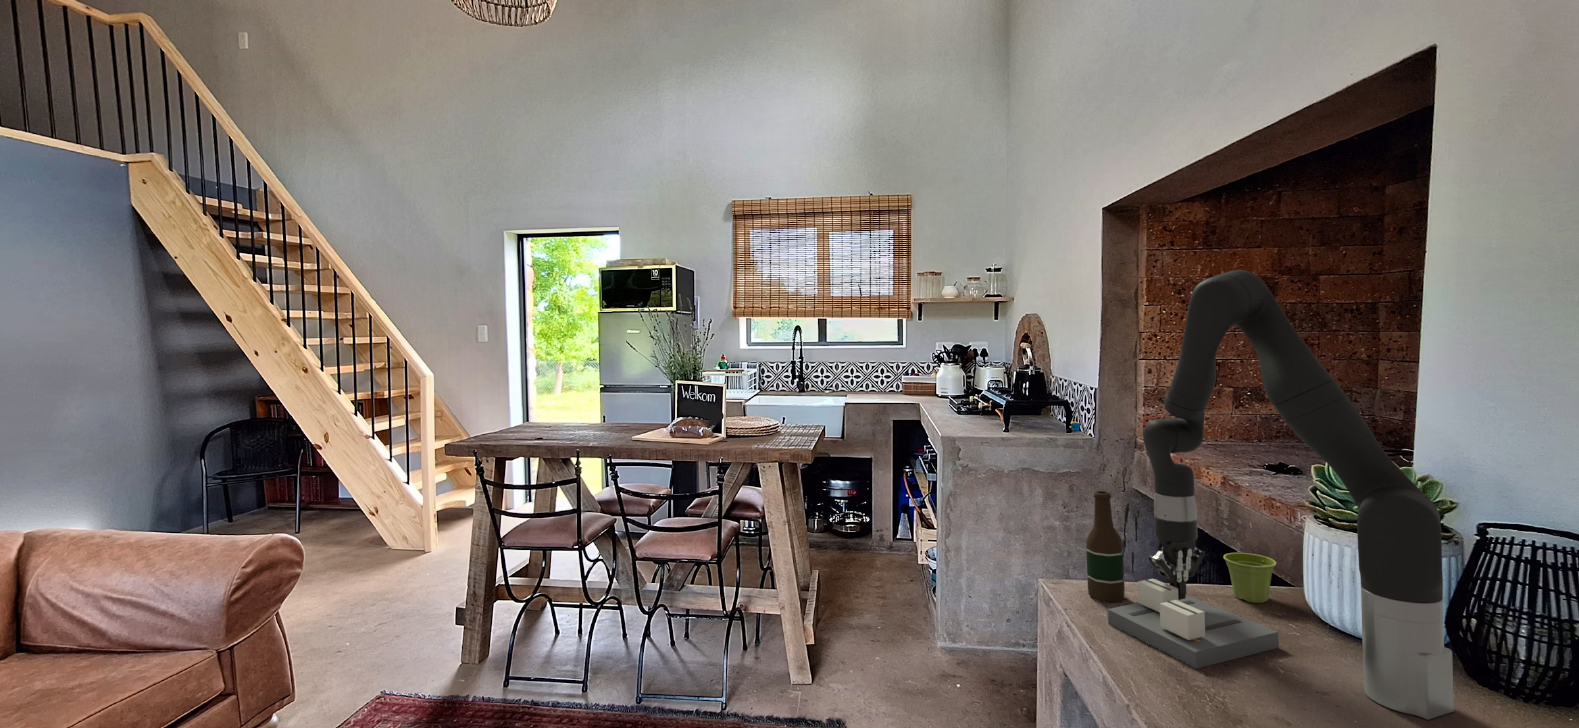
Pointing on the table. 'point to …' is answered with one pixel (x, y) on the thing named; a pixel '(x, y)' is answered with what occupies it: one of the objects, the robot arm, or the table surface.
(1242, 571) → the plant pot
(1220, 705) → the table surface
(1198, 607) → the fader board
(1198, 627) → the block
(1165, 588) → the block
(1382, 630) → the robot arm
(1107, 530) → the beer bottle
